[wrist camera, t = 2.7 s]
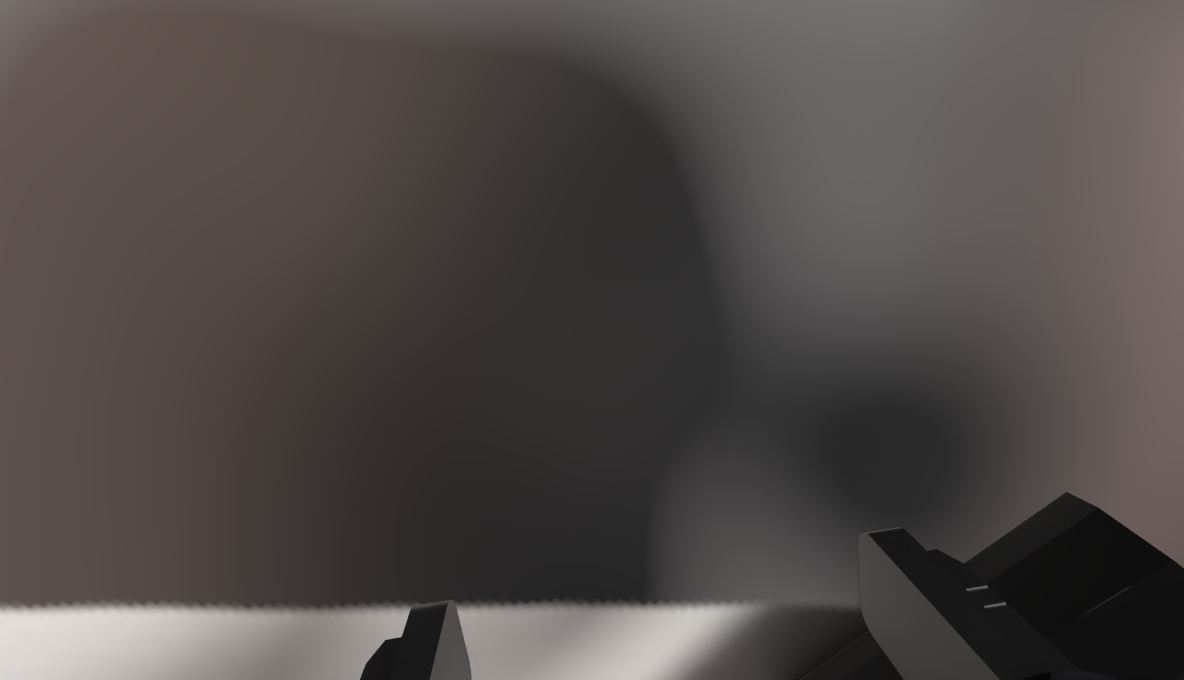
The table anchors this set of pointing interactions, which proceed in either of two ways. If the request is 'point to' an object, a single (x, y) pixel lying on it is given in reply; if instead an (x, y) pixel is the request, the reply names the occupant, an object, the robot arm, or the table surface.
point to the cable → (1070, 597)
